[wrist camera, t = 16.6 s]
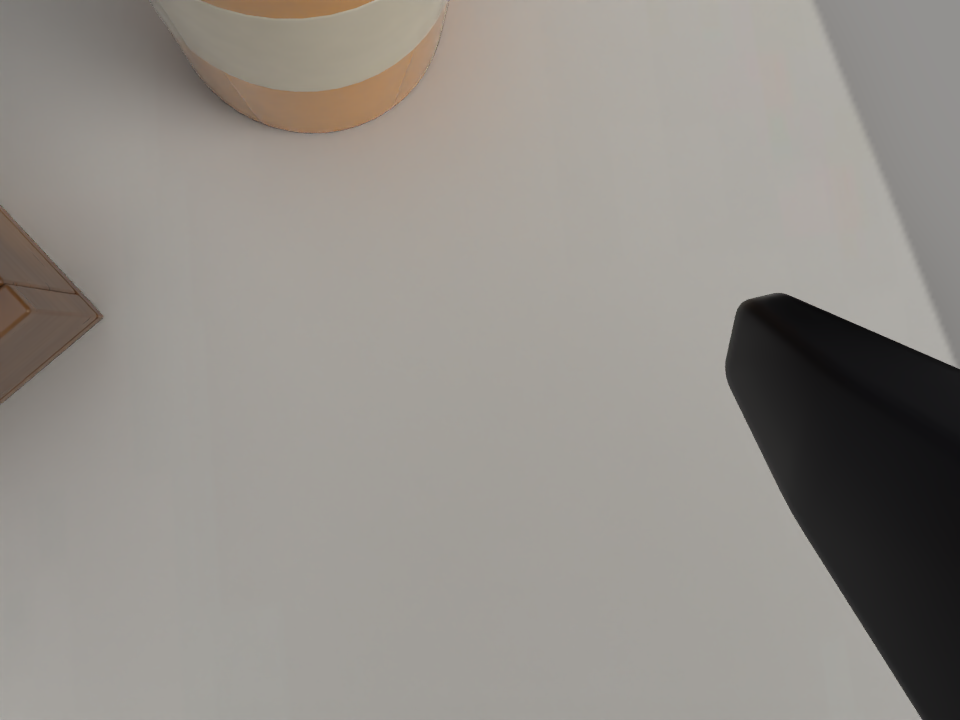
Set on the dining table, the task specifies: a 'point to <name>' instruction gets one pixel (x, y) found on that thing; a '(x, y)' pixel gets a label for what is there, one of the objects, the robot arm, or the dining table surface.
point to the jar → (307, 55)
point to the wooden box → (34, 308)
